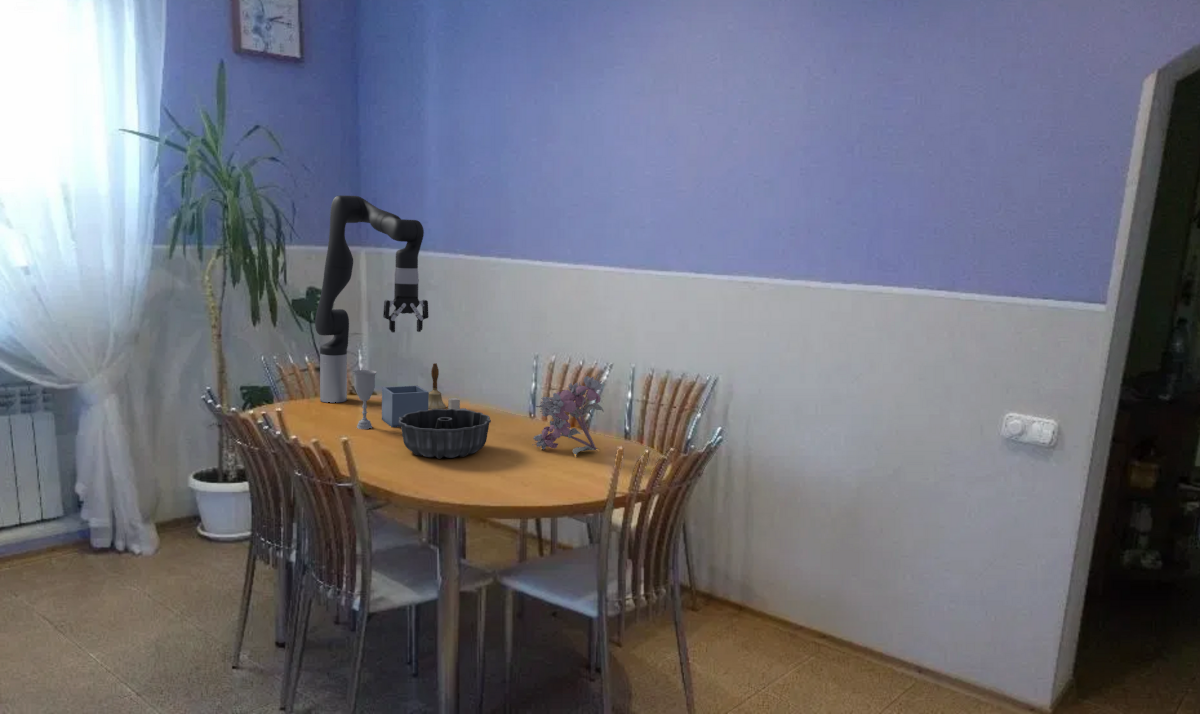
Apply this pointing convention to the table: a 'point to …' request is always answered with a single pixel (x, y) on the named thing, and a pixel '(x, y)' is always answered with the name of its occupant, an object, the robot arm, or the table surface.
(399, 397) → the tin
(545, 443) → the flower
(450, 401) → the lid
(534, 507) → the table surface
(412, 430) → the bundt pan
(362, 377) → the chalice
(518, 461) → the table surface
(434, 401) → the hand bell
